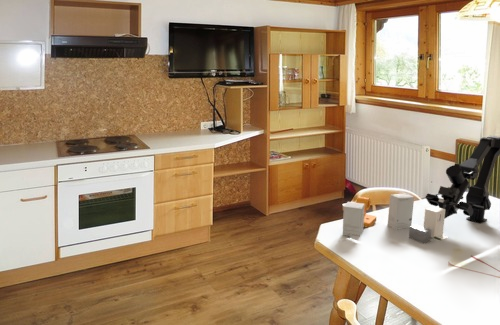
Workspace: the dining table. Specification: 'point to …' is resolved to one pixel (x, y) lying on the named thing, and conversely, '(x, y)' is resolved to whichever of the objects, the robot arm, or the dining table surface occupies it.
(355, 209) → the supplement box
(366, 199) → the bracket
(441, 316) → the dining table surface
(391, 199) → the skincare box
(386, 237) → the dining table surface
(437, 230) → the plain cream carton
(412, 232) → the dark gray block
